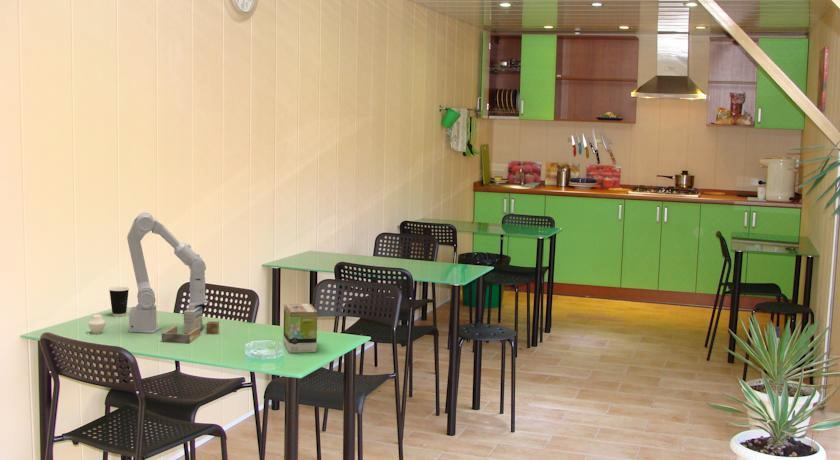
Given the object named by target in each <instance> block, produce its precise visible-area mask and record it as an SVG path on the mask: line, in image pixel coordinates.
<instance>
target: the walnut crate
mask: <svg viewBox="0 0 840 460" xmlns="http://www.w3.org/2000/svg"><path fill="white" fill-rule="evenodd" d="M205 326H206V327H205V329H206V332H205V333H206V335H218V334H219V332H220V321H210V320H209V321H207V322H206V325H205Z"/></svg>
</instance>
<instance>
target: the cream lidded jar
mask: <svg viewBox="0 0 840 460" xmlns="http://www.w3.org/2000/svg"><path fill="white" fill-rule="evenodd" d="M106 324H107V322H106V320H105V319H104V318H103V316H102V315H101V314H94V315H92V316H91V319H90V320H89V321H88V328H90V331H91V332H92V334H95V335H96V334H102V333H103V332H104V329H105V327H106Z"/></svg>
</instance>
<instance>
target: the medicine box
mask: <svg viewBox="0 0 840 460" xmlns="http://www.w3.org/2000/svg"><path fill="white" fill-rule="evenodd" d="M198 327H200V331H201V330H202V329H203V327H204V326H203V315H202V307H200V306H196V307H195V308H194V310H193V309H189V307H188V308H187V309H185V310H184V311H183V334H188V333H190V332H191V331H193V330H194V329H196V328H198Z"/></svg>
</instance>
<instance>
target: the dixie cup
mask: <svg viewBox="0 0 840 460" xmlns="http://www.w3.org/2000/svg"><path fill="white" fill-rule="evenodd" d="M108 290H109V298H110V305H111V313H112V316H113V317H125V316H126V314H127V311H128V298H129V290H130V288H129V286H113V287H109V288H108Z"/></svg>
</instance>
